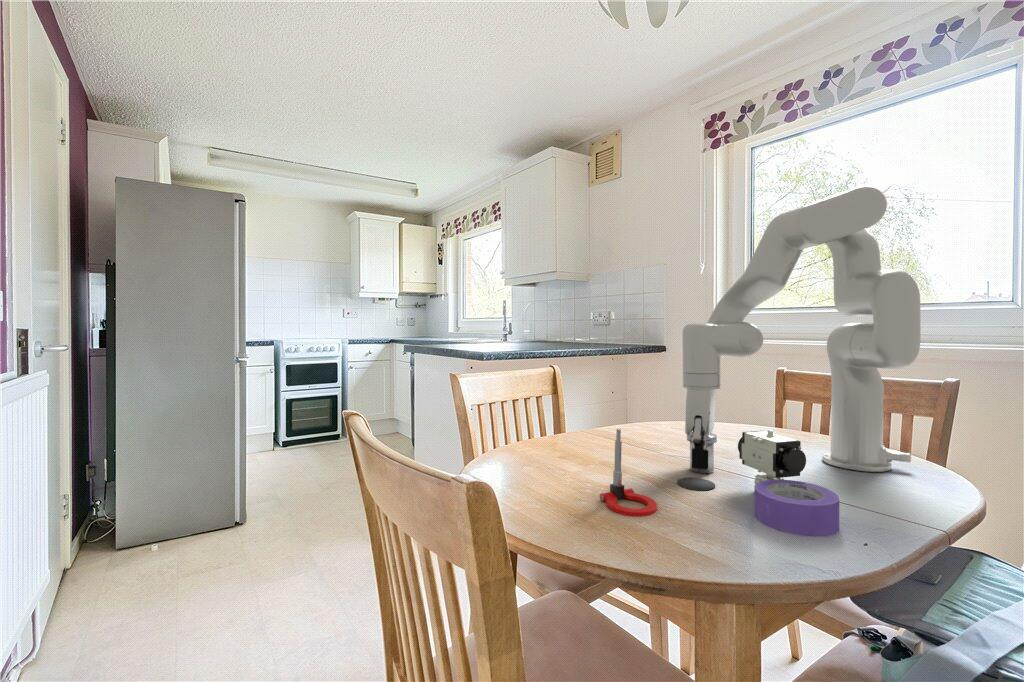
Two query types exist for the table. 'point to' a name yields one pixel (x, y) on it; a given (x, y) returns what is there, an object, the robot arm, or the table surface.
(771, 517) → the tape roll
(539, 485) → the table surface
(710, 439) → the cylinder
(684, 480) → the pad
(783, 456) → the pneumatic valve
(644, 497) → the tow hook
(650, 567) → the table surface
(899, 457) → the robot arm
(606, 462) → the table surface
